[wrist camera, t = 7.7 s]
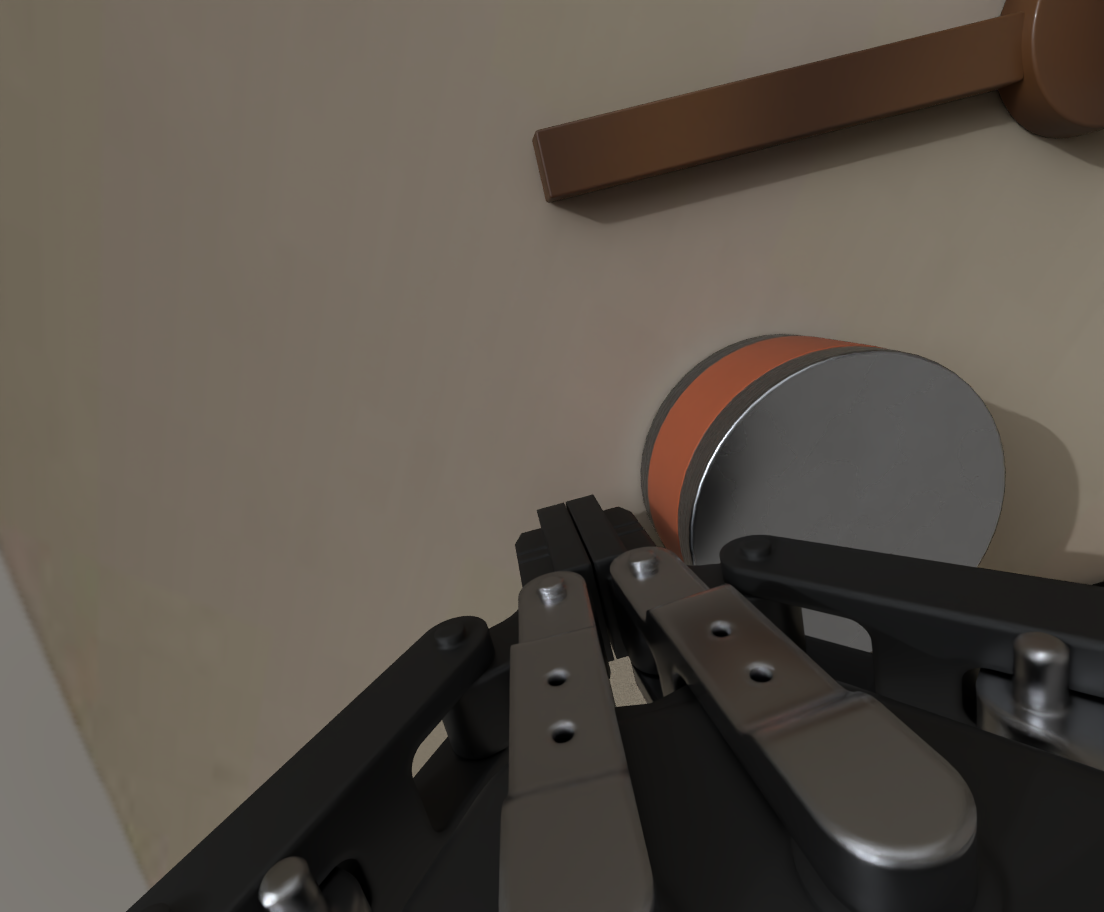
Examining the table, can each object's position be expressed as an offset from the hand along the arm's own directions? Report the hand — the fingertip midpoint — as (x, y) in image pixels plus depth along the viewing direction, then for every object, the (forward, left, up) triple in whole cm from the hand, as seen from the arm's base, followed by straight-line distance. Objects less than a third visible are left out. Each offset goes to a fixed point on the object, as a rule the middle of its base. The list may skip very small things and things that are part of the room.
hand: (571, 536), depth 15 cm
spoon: (-9, +9, -1) cm, 13 cm away
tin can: (0, +6, -1) cm, 6 cm away
